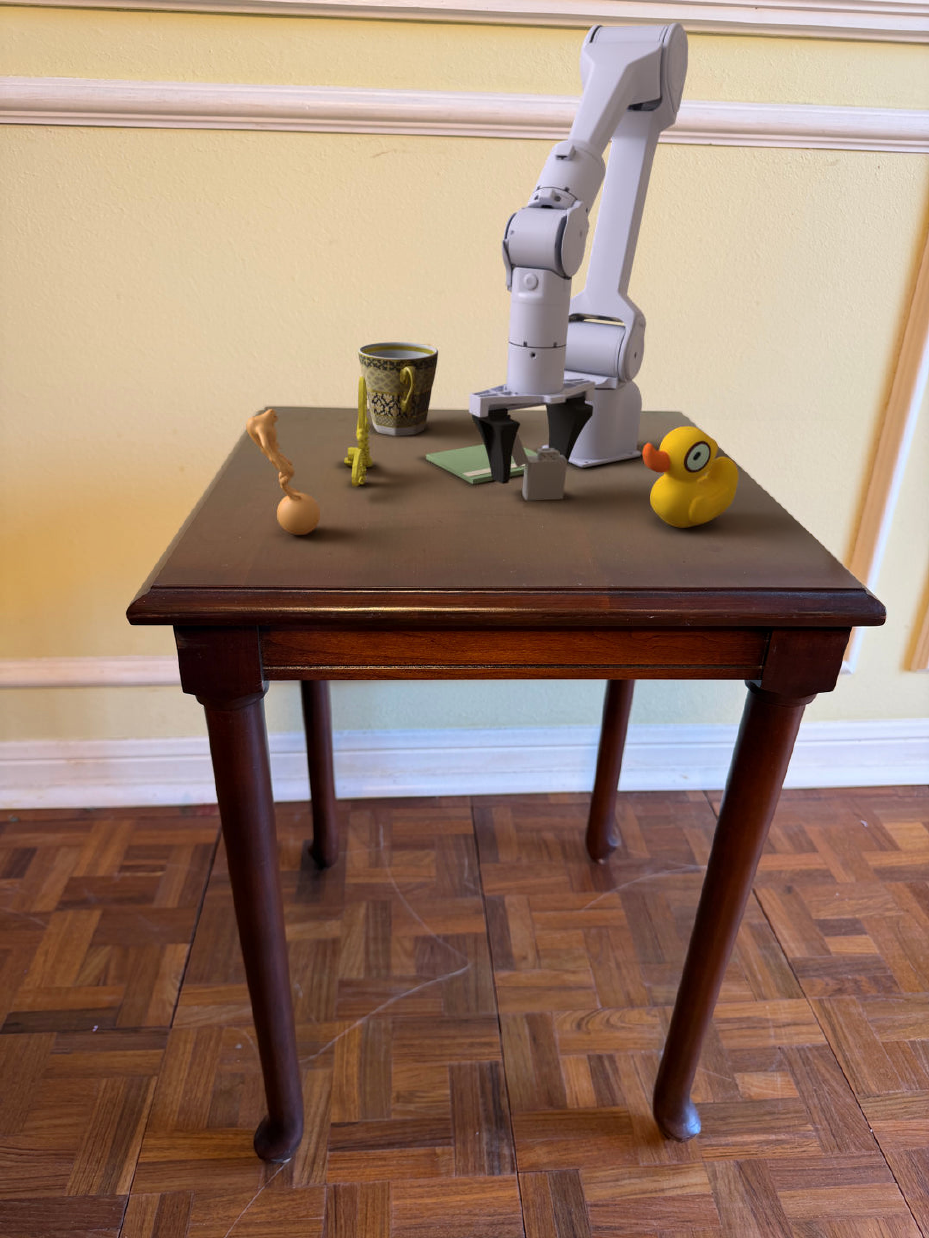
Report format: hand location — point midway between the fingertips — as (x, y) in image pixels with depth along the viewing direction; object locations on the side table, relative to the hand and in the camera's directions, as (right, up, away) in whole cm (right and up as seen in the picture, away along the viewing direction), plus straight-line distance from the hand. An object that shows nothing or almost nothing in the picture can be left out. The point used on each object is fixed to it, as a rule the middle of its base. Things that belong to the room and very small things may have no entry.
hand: (528, 475), depth 93 cm
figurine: (-23, -7, -9) cm, 26 cm away
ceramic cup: (-15, +9, +21) cm, 27 cm away
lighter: (0, -2, +1) cm, 3 cm away
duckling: (+15, -6, -4) cm, 17 cm away
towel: (-4, +3, +11) cm, 12 cm away
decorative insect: (-19, 0, +4) cm, 19 cm away
